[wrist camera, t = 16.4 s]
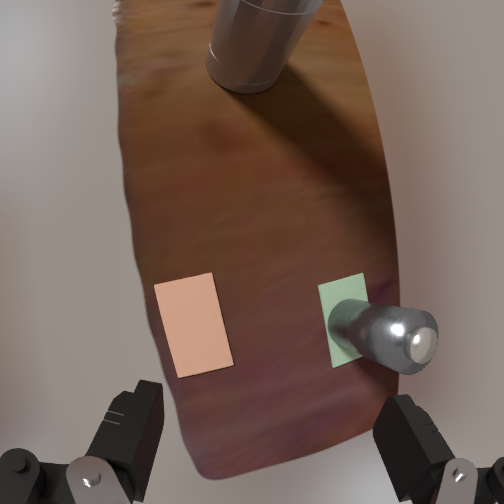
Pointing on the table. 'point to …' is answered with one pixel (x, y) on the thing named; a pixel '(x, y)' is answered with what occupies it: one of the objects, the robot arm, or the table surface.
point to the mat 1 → (194, 325)
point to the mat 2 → (329, 299)
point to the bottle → (385, 333)
